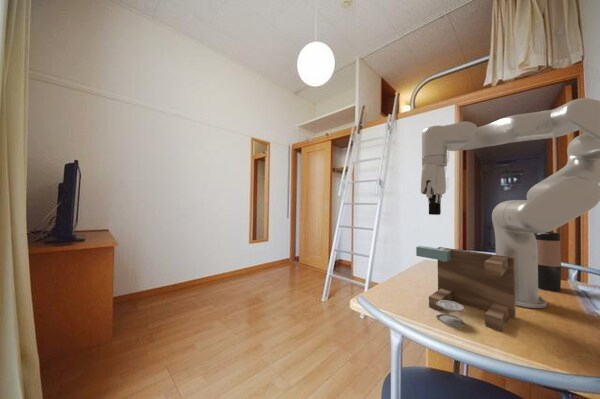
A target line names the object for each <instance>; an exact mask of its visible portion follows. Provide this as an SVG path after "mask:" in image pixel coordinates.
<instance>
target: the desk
mask: <svg viewBox="0 0 600 399" xmlns="http://www.w3.org/2000/svg"><path fill="white" fill-rule="evenodd" d="M437 248H438V249H440V248H444V249H446V250H450V252H451V260H449V261H446V262H443V261H440V260H437V290H436V291H435V292H433V293H432V294H430V295H429V296H428V307H429V308H432V309H435V310H438V311H442V310H444V309H443V308H441V307H440V306H438V305H436V302H438V301H440V300H448V301H453V302H456V303H459V304H461V305H466V306H469V307H473V308H475V309H479V310H483V311H485V314H484V318H485V319H484V322H485V324H484V325H485V327H487V328H491V329H494V330H495V331H499V332H503V330H504V329H505V326H506V324H507V322H508V321H509V319H512V320H515V319H516V314H517V313H516V305H515V263H514V257H508V256H501V255H496V254H494V253H493V254H492V253H485V252H479V251H478V252H477V251H470V250H464V249H463V250H462V249H456V248H455V249H454V248H449V247H443V246H438V247H437ZM437 304H438V303H437Z"/></svg>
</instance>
